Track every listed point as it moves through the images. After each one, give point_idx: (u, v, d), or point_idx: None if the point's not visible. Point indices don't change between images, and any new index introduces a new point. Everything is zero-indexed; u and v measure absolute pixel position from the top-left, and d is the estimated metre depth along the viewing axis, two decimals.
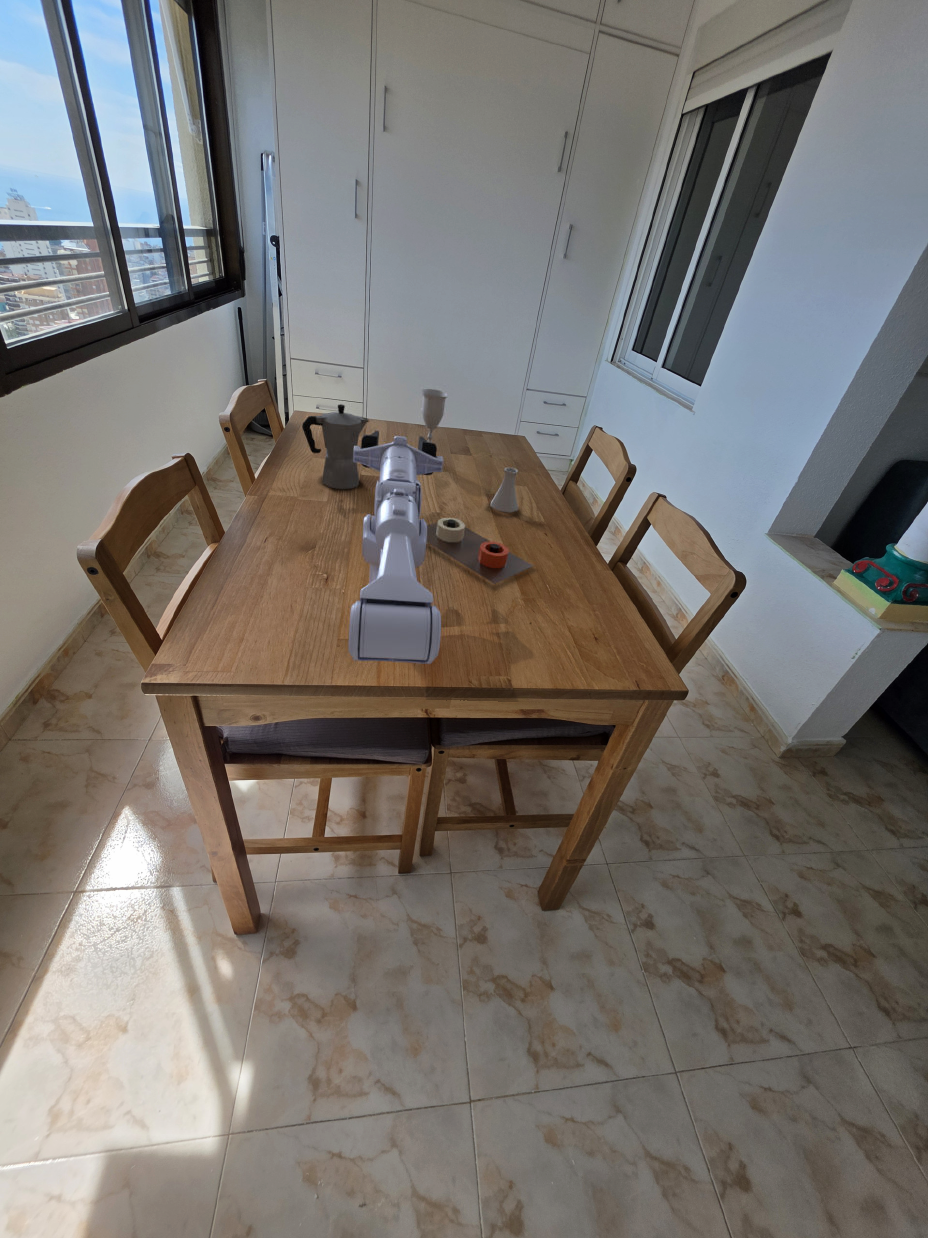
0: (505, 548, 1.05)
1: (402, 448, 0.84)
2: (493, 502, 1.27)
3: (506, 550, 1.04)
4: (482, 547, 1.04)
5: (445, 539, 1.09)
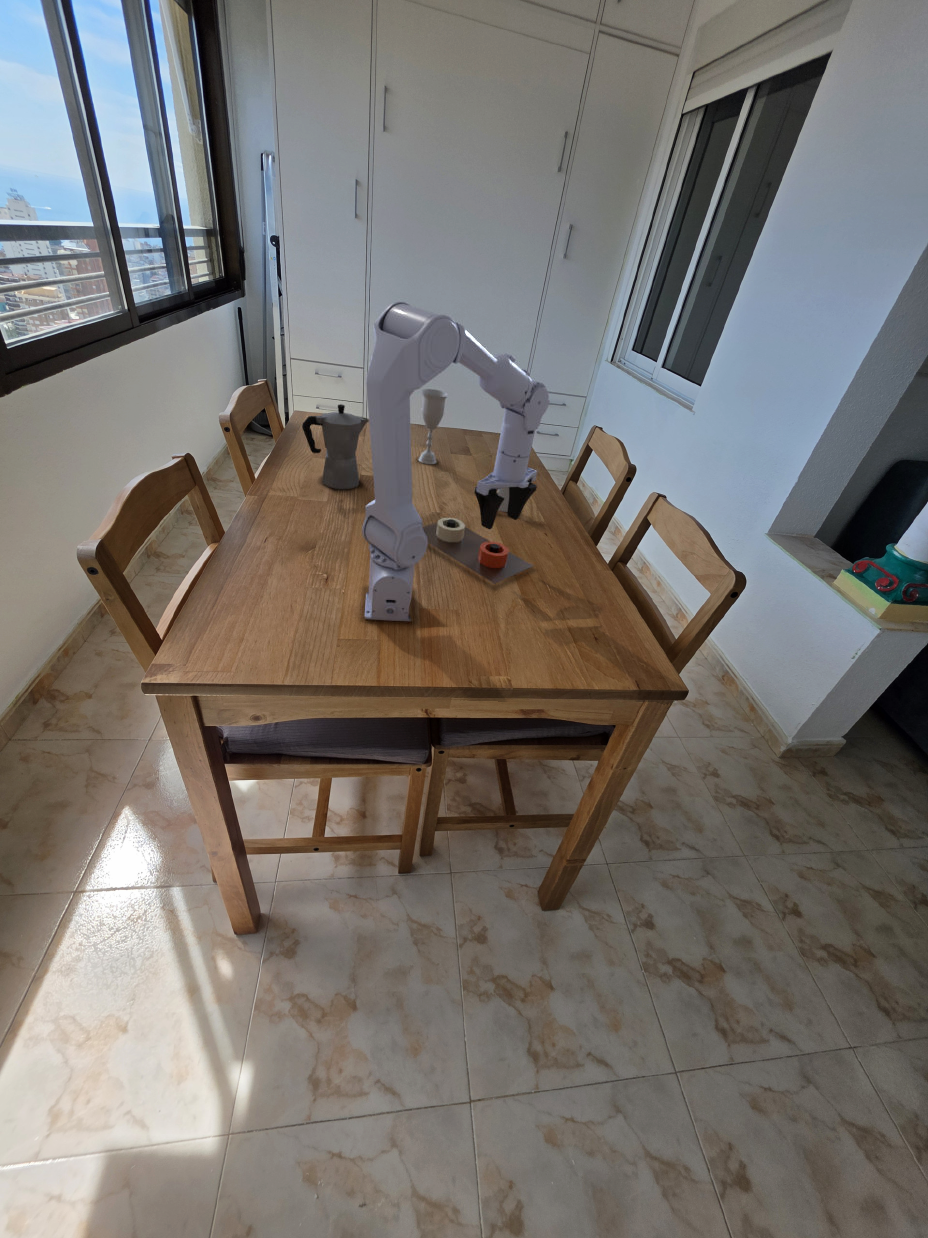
0: (505, 548, 1.05)
1: (521, 475, 0.93)
2: None
3: (506, 550, 1.04)
4: (482, 547, 1.04)
5: (445, 539, 1.09)
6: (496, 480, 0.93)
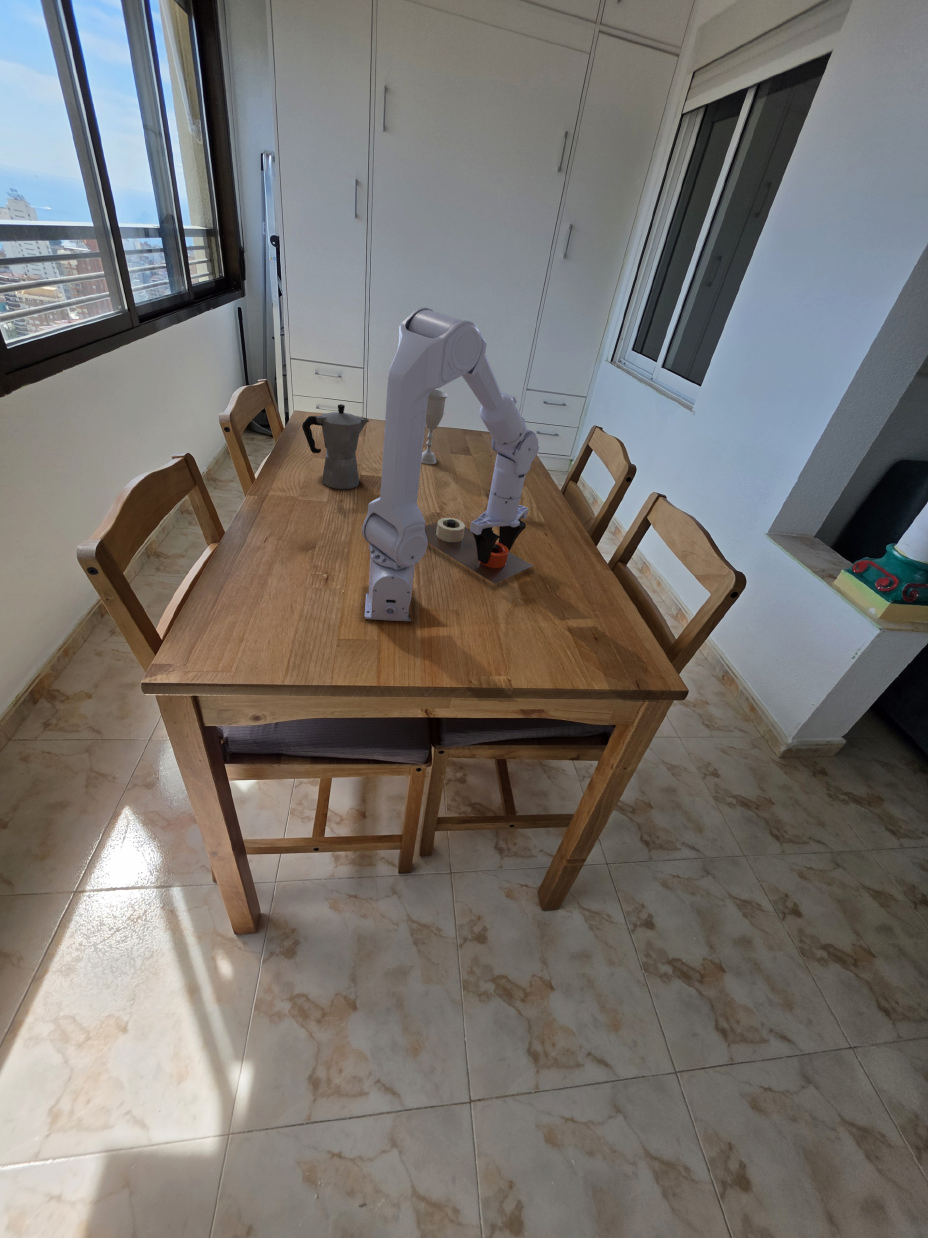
0: (505, 548, 1.05)
1: (512, 515, 0.98)
2: None
3: (506, 550, 1.04)
4: None
5: (445, 539, 1.09)
6: (489, 520, 0.98)
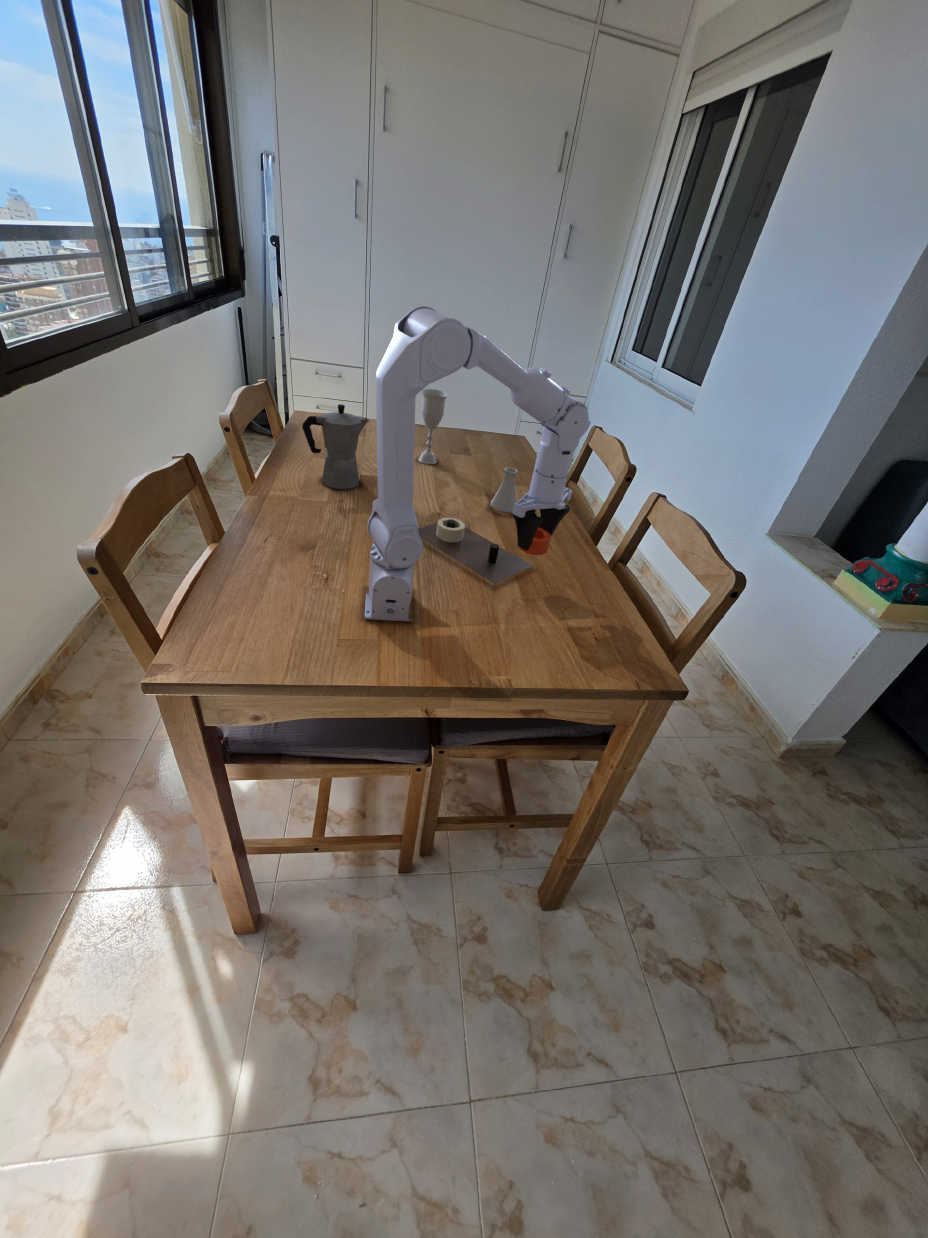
0: (547, 533, 0.97)
1: (558, 496, 0.89)
2: (493, 502, 1.27)
3: (548, 535, 0.96)
4: None
5: (445, 539, 1.09)
6: (532, 501, 0.90)
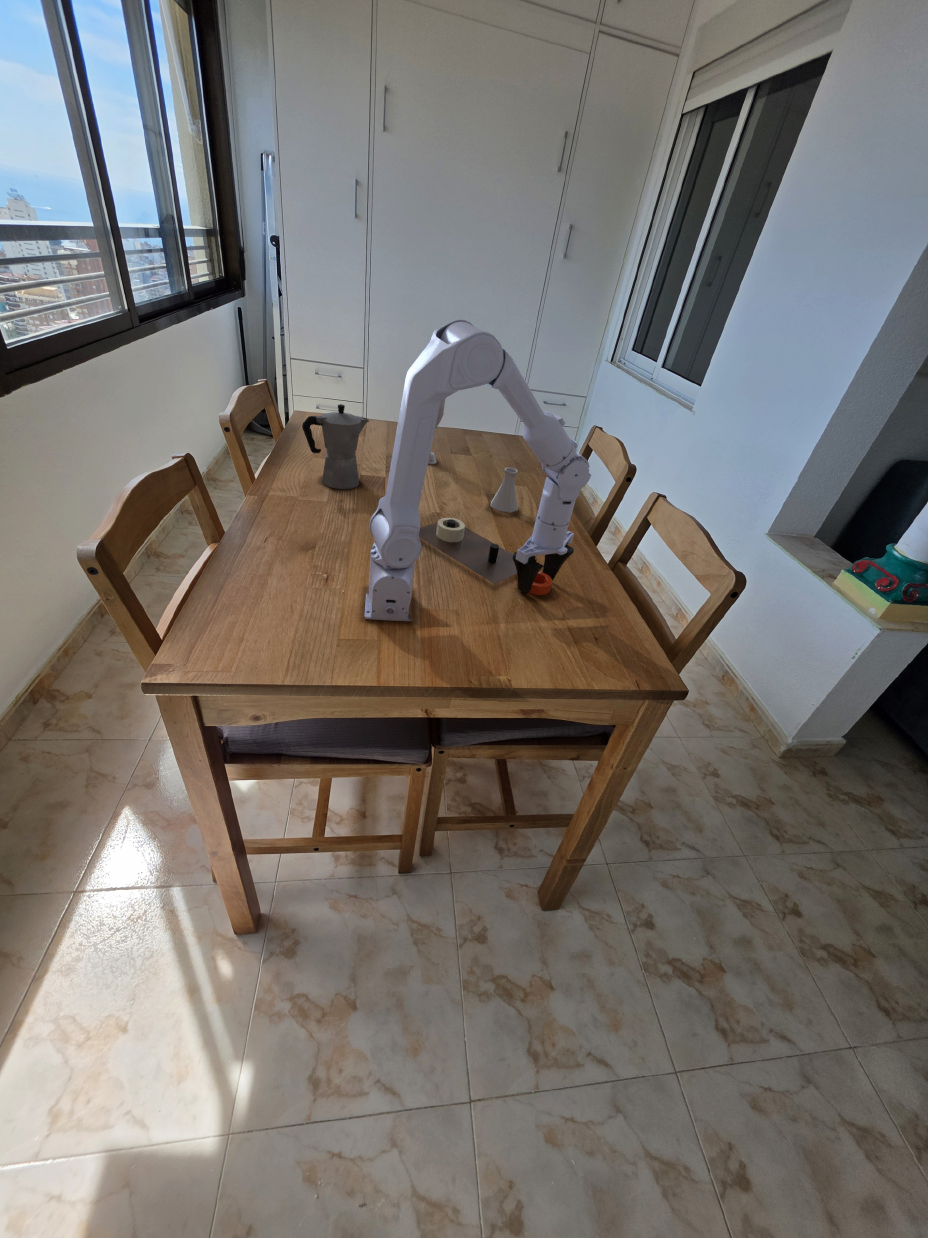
0: (548, 578, 1.00)
1: (560, 542, 0.92)
2: (493, 502, 1.27)
3: (550, 580, 0.99)
4: None
5: (445, 539, 1.09)
6: (535, 547, 0.92)
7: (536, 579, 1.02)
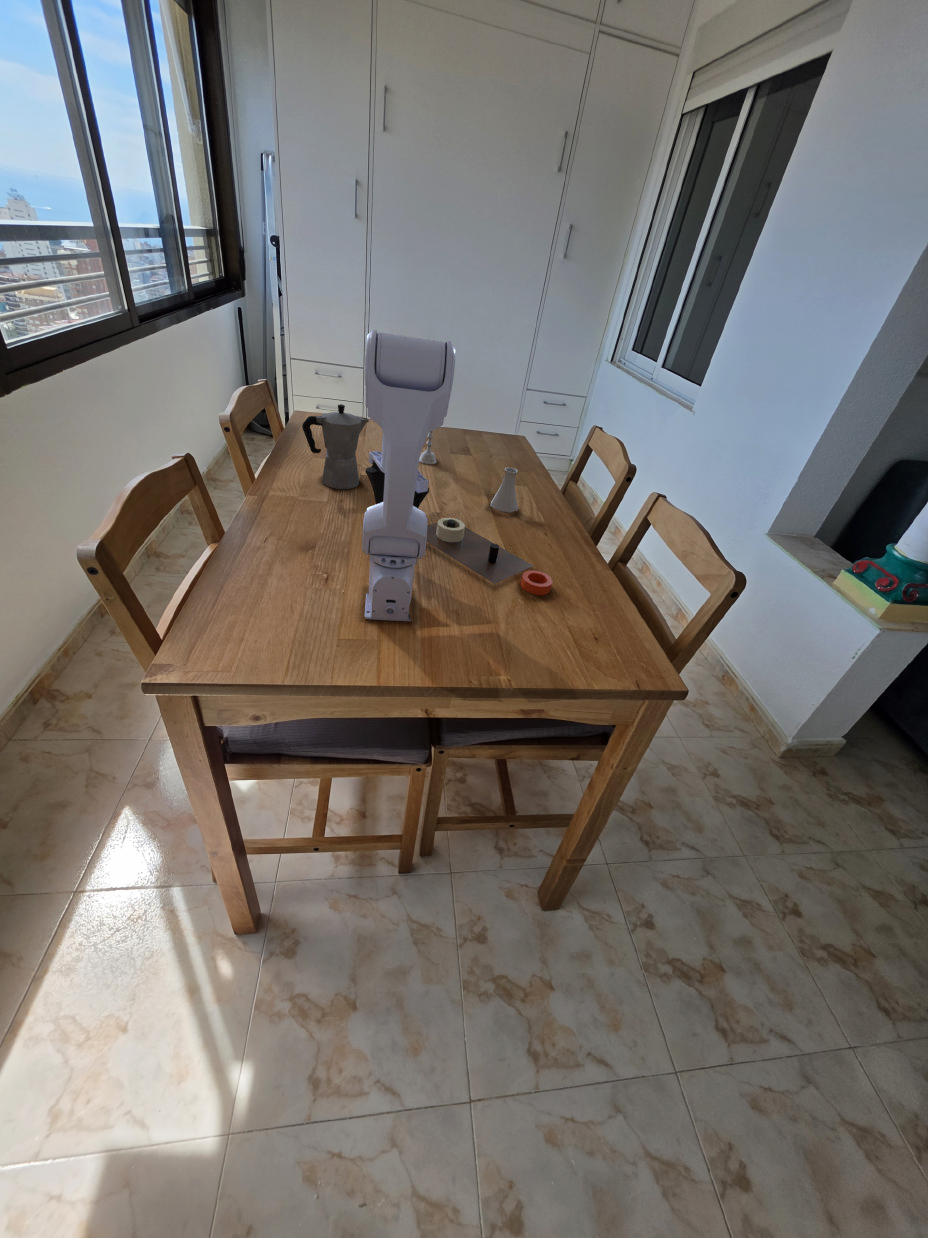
0: (548, 578, 1.00)
1: None
2: (493, 502, 1.27)
3: (550, 580, 0.99)
4: (525, 577, 0.99)
5: (445, 539, 1.09)
6: None
7: (536, 579, 1.02)
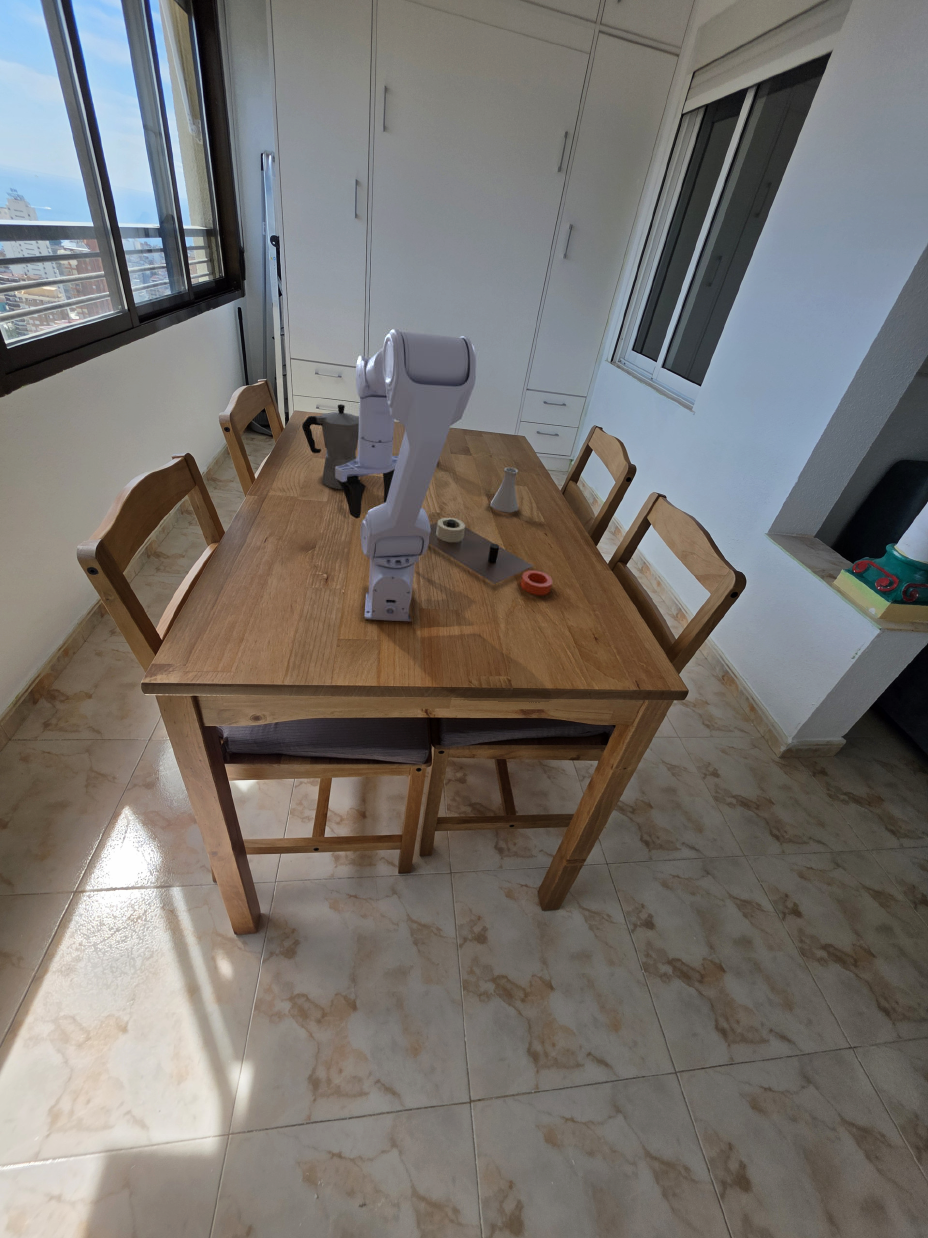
0: (548, 578, 1.00)
1: None
2: (493, 502, 1.27)
3: (550, 580, 0.99)
4: (525, 577, 0.99)
5: (445, 539, 1.09)
6: None
7: (536, 579, 1.02)
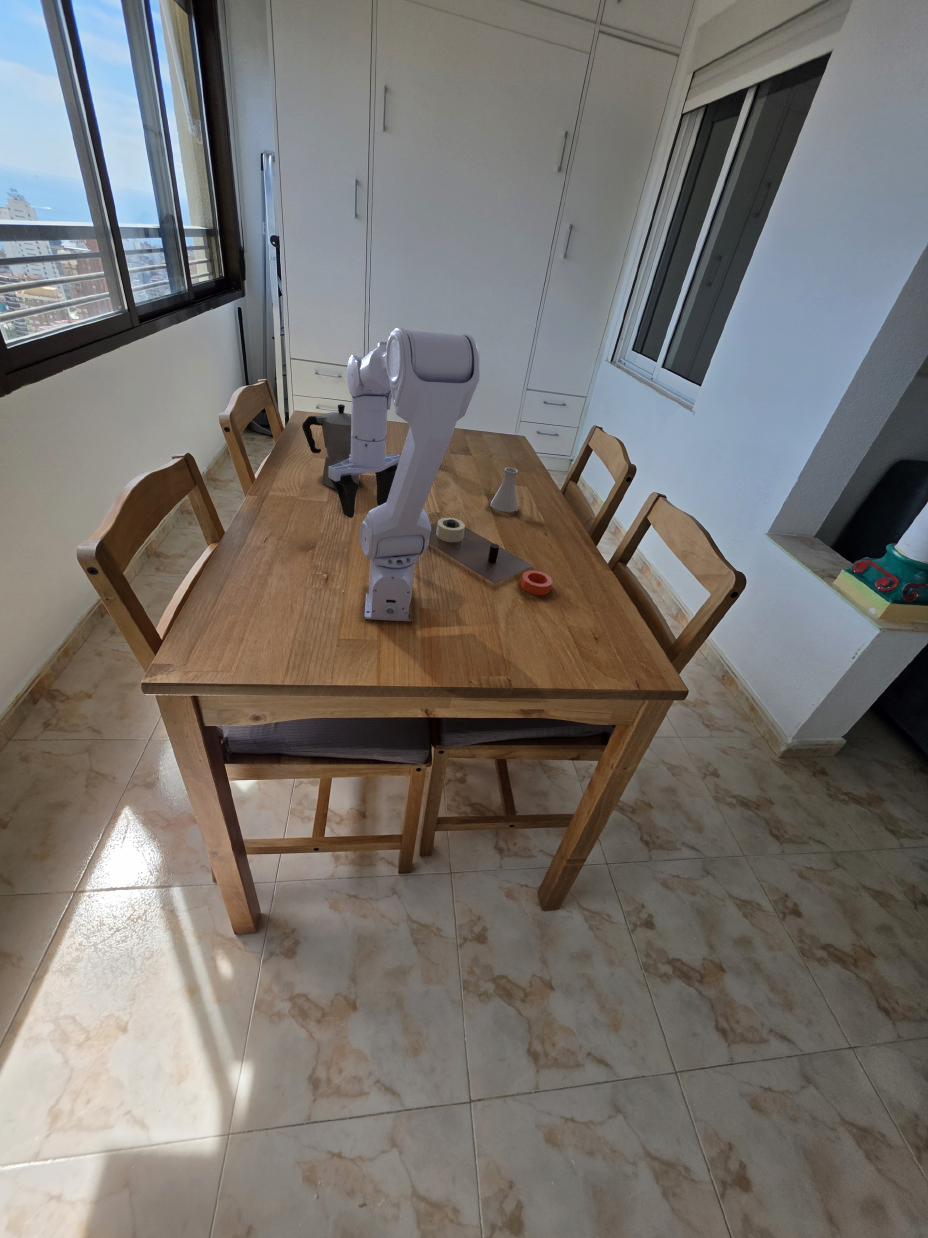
0: (548, 578, 1.00)
1: None
2: (493, 502, 1.27)
3: (550, 580, 0.99)
4: (525, 577, 0.99)
5: (445, 539, 1.09)
6: None
7: (536, 579, 1.02)
